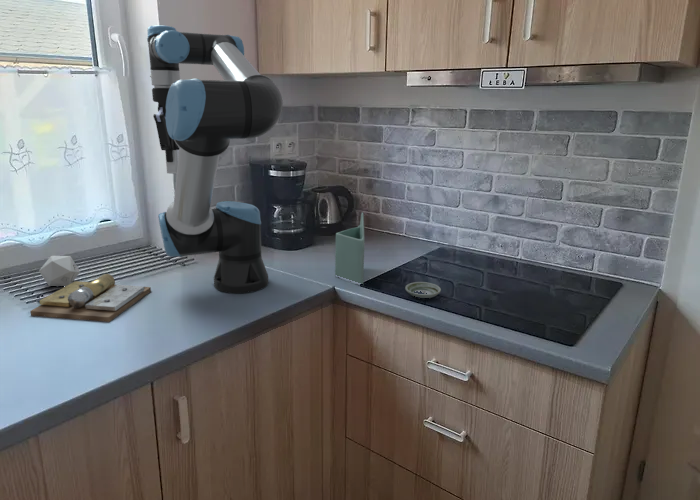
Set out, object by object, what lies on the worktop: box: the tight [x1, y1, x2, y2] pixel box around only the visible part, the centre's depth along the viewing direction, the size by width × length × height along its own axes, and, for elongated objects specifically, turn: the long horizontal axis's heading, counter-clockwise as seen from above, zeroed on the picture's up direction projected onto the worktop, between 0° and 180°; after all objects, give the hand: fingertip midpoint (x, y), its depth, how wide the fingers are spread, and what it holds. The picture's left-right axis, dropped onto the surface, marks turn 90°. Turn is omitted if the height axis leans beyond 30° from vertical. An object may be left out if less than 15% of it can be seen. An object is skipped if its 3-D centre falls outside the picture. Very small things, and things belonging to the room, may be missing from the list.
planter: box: [334, 212, 365, 285], centre depth 155 cm, size 16×8×20 cm, turn 2°
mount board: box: [30, 284, 152, 323], centre depth 134 cm, size 20×20×1 cm
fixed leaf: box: [68, 284, 145, 311], centre depth 133 cm, size 12×14×4 cm
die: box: [38, 255, 81, 287], centre depth 145 cm, size 8×9×10 cm
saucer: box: [404, 281, 442, 299], centre depth 144 cm, size 10×10×2 cm
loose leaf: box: [39, 273, 116, 307], centre depth 134 cm, size 12×14×4 cm
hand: (172, 173), depth 152 cm, fingers closed
